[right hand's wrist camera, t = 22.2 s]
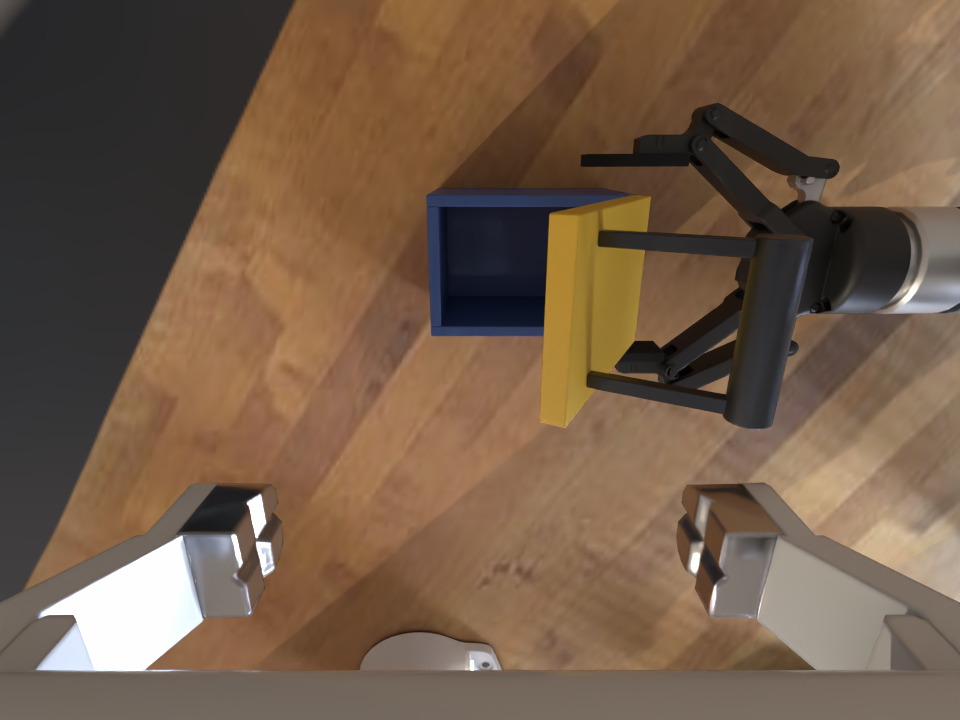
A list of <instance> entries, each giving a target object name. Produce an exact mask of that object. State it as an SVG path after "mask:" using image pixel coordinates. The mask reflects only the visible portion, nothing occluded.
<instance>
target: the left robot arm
mask: <svg viewBox="0 0 960 720" xmlns="http://www.w3.org/2000/svg"><path fill="white" fill-rule="evenodd" d="M712 136H714V137H716V138H717V139H719V140H721V141H722V142H724V143H726V144H728V145H729V146H731V147H733V148H734V149H736V150H738V151H740V152H741V153H743V154H745V155H746V156H748V157H750V158H752V159H753V160H755V161H757V162H758V163H760V164H762V165H763V166H765V167H767V168H769V169H770V170H772V171H774V172H776V173H779V174H782V175H787V176H788V178H787V183H788V184H789V186H790V187H791V188H793V189H795V190H796V191H797V193H798V200H795V201H793V202H791V203H789V204H788V205H786V206H785V207H783V208H782V209H780V208H779V207H778V206H776V205H775V204H773V203H772V202H770V201H769V200H768V199H767V198H766V197H765V196H764V195H763V194H762V193H761V192H760V191H759V190H758V189H757V188H756V187H755V186H754V185H753V183H752V182H751V181H750V180H749V179H748V178H747V177H746V176H745V175H744V174H743V173H742V172H741V171H740V170H739V169H738V168H737V167H736V166H735V165H734V163H733V162H732V161H731V160H730V159H729V158H728V157H727V156H726V155H725V154H724V153H723V152H722V151H721V150H720V149H719V148H718V147H717V146H716V145H715V143H714V142H713V141H712V140H711V137H712ZM689 162H690V163H691V164H692V165H693V166H694V167H695V168H696V169H697V170H698V171H699V172H700V173H701V174H702V176H703V177H704V178H705V179H706V180H707V181H708V182H709V183H710V184H711V185H712V186H713V187H714V188H715V189H716V190H717V191H718V192H719V193H720V194H721V195H722V196H723V197H724V198H725V199H726V200H727V201H728V202H729V203H730V204H731V205H732V206H733V207H734V208H735V209H736V210H737V211H738V213H739V216H740V217H741V218H742V219H743V220H744V221H745V222H746V223H747V224H748V225H749V226H750V227H751V228H752V229H751V230H750V231H749V233H748V234H747V236H746V238H755V237H756V235H759V234H791V235H801V236H807V237H811V238H813V239H814V241H813V246H812V250H811V254H810V259H809V263H808V268H807V272H806V277H805V281H804V286H803V290H802V294H801V299H800V303H799V308H798V312H797V317H796V318H798V317H800V316H802V315H805V314H867V313H876V314H906V313H960V207H888V208H884V207H826V206H824V205H822V204H821V203H820V202H819V201H820V198H821V195H822V192H823V189H824V186H825V182H826V179H831V178H833V177H835V176H836V175H837V173H838V171H839V168H840V166H839V163H838V162H837V161H836V160H834V159H826V158H818V157H810V156H807V155H805V154H804V153H802V152H800V151H799V150H797V149H795V148H794V147H792V146H790V145H789V144H787V143H785V142H784V141H782V140H780V139H779V138H777V137H775V136H774V135H772V134H770V133H769V132H767V131H765V130H764V129H762V128H760V127H759V126H757V125H755V124H754V123H752V122H750V121H748V120H747V119H745V118H743V117H742V116H740V115H738V114H737V113H735V112H733V111H732V110H730V109H728V108H727V107H725V106H723V105H722V104H719V103H715V104H711V105H707V106H703V107H699V108H697V109H696V110H695V111H694V112H693V114H692V121H691V124H690V126H689V128H688V129H687V131H686V132H685V133H683V134H682V135H645V136H641V137H638V138H636V139H634V147H633V154H586V155H581V166H583V167H629V166H689ZM750 263H751V258H745V257H741V261H740V263H739V266H738V268H737V271H736V277H735V280H736V281H738V285H739V288H737V289H736V290H735V291H733V292H732V293H731V294H729V295H728V296H727V297H726V298H725V299H724V302H723V303H722V304H721V305H719V306H718V307H717V308H715V309H714V310H712V311H711V312H710V313H708V314H707V315H706V316H704V317H703V318H701V319H700V320H699V321H697V322H696V323H695V324H693V325H692V326H690V327H689V328H688V329H686V330H685V331H684V332H682V333H681V334H679V335H678V336H677V337H675V338H674V339H673V340H671V341H670V342H668V343H667V344H666V345H664V346H663V347H662V348H659V347H658V346H657V345H656V344H655V343H654V342H653V341H634V342H633V343H632V345H631V346H630V347H629V348H628V350H627V351H626V352H625V353H624V355H623V356H622V357H621V359H620V360H619V361H618V362H617V364H616V365H615V366H614V367H615V368H616V370H617V371H619V372H622V373H657V374H658V381H659V383H664V384H670V385H675V386H681V387H687V388H692V389H697V388H700V387H702V386H704V385H707V384H709V383H711V382H714V381H716V380H718V379H721V378H723V377H725V376H728V375H730V371H731V365H732V360H733V354H734V349H735V344H736V340H734V341H732V342H730V343H727V344H725V345H723V346H720V347H718V348H716V349H714V350H711V351H709V352H707V351H708V350H709V349H711V348H712V347H714V346H715V345H716V344H718V343H719V342H721V341H722V340H724V339H725V338H726V337H728V336H729V335H731V334H732V333H733V332H735V331H736V330H738V327H739V322H740V317H741V311H742V306H743V300H744V295H745V290H746V284H747V279H748V273H749V268H750ZM797 351H798V344H797V343H796V342H794V341H793V340H791V343H790V348H789V352H788V356H792V355H794V354H795V353H796V352H797ZM705 352H707V353H705Z"/></svg>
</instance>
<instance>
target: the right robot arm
mask: <svg viewBox="0 0 960 720" xmlns="http://www.w3.org/2000/svg"><path fill="white" fill-rule="evenodd" d="M278 503H279V502H278V497H277V493H276V488H275V487H274V486H273V485H272V484H244V483H221V484H220V483H196V484H192V485H190V486H189V487H188V488H187V489H186V490H185V492H184V493H183V494H182V495H181V496H180V497H179V498H178V499H177V500H176V501H175V503H174V504H173V505H172V506H171V507H170V508H169V509H168V510H167V511H166V512H165V514H164V515H163V516H162V517H161V518H160V519H159V520H158V521H157V522H156V523H155V525H154V526H153V527H152V528H151V529H150V530H149V531H148V532H147V533H146V534H145V536H134V537H132V538H130V539H128V540H126V541H124V542H122V543H120V544H118V545H116V546H114V547H112V548H110V549H108V550H106V551H104V552H102V553H100V554H98V555H96V556H94V557H92V558H90V559H88V560H86V561H83V562H81V563H79V564H77V565H75V566H73V567H71V568H69V569H67V570H65V571H63V572H61V573H59V574H57V575H55V576H53V577H51V578H49V579H47V580H45V581H43V582H41V583H39V584H37V585H35V586H33V587H31V588H29V589H27V590H25V591H23V592H21V593H19V594H16V595H14V596H12V597H10V598H8V599H6V600H4V601H2V602H0V720H960V603H959V602H957V601H955V600H953V599H951V598H949V597H947V596H945V595H943V594H941V593H939V592H937V591H935V590H933V589H931V588H929V587H927V586H925V585H923V584H921V583H919V582H917V581H915V580H913V579H911V578H909V577H907V576H905V575H903V574H901V573H899V572H897V571H895V570H893V569H891V568H889V567H886V566H884V565H882V564H880V563H878V562H876V561H874V560H872V559H870V558H868V557H866V556H864V555H862V554H860V553H858V552H856V551H854V550H852V549H850V548H848V547H846V546H844V545H842V544H840V543H838V542H836V541H834V540H832V539H830V538H828V537H826V536H815V534H814V533H813V532H812V531H811V530H810V529H809V528H808V527H807V526H806V525H805V523H804V522H803V521H802V520H801V519H800V518H799V517H798V516H797V515H796V514H795V512H794V511H793V510H792V509H791V508H790V507H789V506H788V505H787V504H786V503H785V501H784V500H783V499H782V498H781V497H780V496H779V495H778V494H777V493H776V492H775V490H774V489H773V488H772V487H771V486H770V485H768V484H765V483H738V484H704V485H686V487H685V489H684V491H683V497H682V502H681V503H682V504H683V506H684V508H685V509H686V511H687V513H686V514H685V515H684V516H683V517H682V518H681V519H680V520H679V521H678V528H677V546H678V552H679V556H680V559H681V562H682V564H683V566H684V568H685V570H686V571H687V572H689V573H690V574H692V575H693V576H694V577H696V578H697V579H696V585H695V590H696V592H697V594H698V596H699V597H700V599H701V601H702V603H703V605H704V607H705V609H706V611H707V613H708V615H709V617H733V618H757V621H758V622H759V623H760V624H762V625H763V626H764V627H765V628H766V629H768V630H769V631H770V632H771V633H772V634H774V635H775V636H776V637H777V638H778V639H780V640H781V641H782V642H783V643H784V644H786V645H787V646H788V647H789V648H790V649H792V650H793V651H794V652H795V653H796V654H798V655H799V656H800V657H801V658H802V659H804V660H805V661H806V662H807V663H808V664H810V665H811V666H812V667H813V668H814V669H816V670H502V669H501V667H500V664H499V662H498V660H497V657H496V655H495V653H494V651H493V649H492V647H490V646H489V645H486V644H482V643H464V642H460V641H457V640H454V639H451V638H449V637H446V636H443V635H439V634H433V633H424V632H415V633H405V634H400V635H396V636H393V637H390V638H388V639H386V640H384V641H382V642H380V643H378V644H377V645H376V646H374V647H373V648H372V649H371V650H370V651H369V652H368V653H367V654H366V656H365V657H364V659H363V661H362V663H361V665H360V670H145V669H146V668H147V667H148V666H149V665H151V664H152V663H153V662H154V661H155V660H157V659H158V658H159V657H160V656H161V655H163V654H164V653H165V652H166V651H167V650H169V649H170V648H171V647H172V646H173V645H175V644H176V643H177V642H178V641H179V640H181V639H182V638H183V637H184V636H185V635H187V634H188V633H189V632H190V631H191V630H193V629H194V628H195V627H196V626H197V625H199V624H200V623H201V622H202V621H203V618H226V617H251V615H252V613H253V611H254V609H255V607H256V605H257V603H258V601H259V599H260V597H261V596H262V594H263V592H264V590H265V585H264V579H263V578H264V577H266V576H267V575H268V574H270V573H271V572H273V571H274V570H275V568H276V566H277V564H278V561H279V559H280V555H281V551H282V546H283V527H282V521H281V520H280V519H279V518H278V517H277V516H276V515H275V514H274V513H273V511H274V509H275V508H276V506H277V504H278Z"/></svg>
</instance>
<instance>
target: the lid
mask: <svg viewBox="0 0 960 720" xmlns="http://www.w3.org/2000/svg"><path fill="white" fill-rule="evenodd" d="M650 201H651V196H627V197H622V198H618V199H613V200H608V201H604V202H599V203H594V204H590V205H585V206H581V207H576V208H571V209H567V210H562V211H558V212H553V213H550V215H549V234H548V256H547V277H546V298H545V319H544V341H543V362H542V383H541V404H540V422H542V423H546V424H550V425H554V426H559V427H563V428H565V427H566V426H567V425H568V424H569V423H570V421H571V420H572V419H573V417H574V416H575V415H576V414H577V412H578V411H579V410H580V409H581V407H582V406H583V405H584V404H585V402H586V401H587V400H588V399H589V397H590V396H591V395H592V394H593V392H594V391H595V390H596V389H598V390H603V391H608V392H613V393H618V394H623V395H628V396H633V397H638V398H644V399H649V400H654V401H659V402H664V403H669V404H674V405H679V406H684V407H690V408H695V409H700V410H705V411H710V412H715V413H720V414H723V417H724V418H725V419H726V420H727V421H728V422H730V423H732V424H734V425H737V426H740V427H743V428H748V429H766V428H769V427H770V426H771V425H772V423H773V419H774V415H775V410H776V406H777V401H778V397H779V392H780V388H781V383H782V379H783V374H784V370H785V366H786V361H787V357H788V352H789V348H790V343H791V339H792V334H793V330H794V326H795V321H796V317H797V312H798V308H799V303H800V299H801V294H802V290H803V286H804V281H805V277H806V272H807V268H808V263H809V259H810V254H811V250H812V246H813V241H814V239H813V238H811V237H807V236H801V235H791V234H759V235H756V237H755V238H744V237H726V236H709V235H692V234H674V233H657V232H647V228H648V219H649V210H650ZM645 250H648V251H662V252H676V253H690V254H703V255H717V256H731V257H745V258H751V263H750V268H749V273H748V279H747V284H746V290H745V295H744V300H743V306H742V311H741V317H740V322H739V327H738V333H737V338H736V344H735V349H734V354H733V360H732V365H731V371H730V376H729V381H728V387H727V392H726V395H725V394H720V393H714V392H709V391H703V390H698V389H692V388H687V387H681V386H675V385H670V384H664V383H659V382H653V381H648V380H642V379H637V378H631V377H625V376H620V375H614V374H609V372H610V371H611V370H612V369H613V367H614V366H615V365H616V364H617V362H618V361H619V360H620V359H621V357H622V356H623V355H624V353H625V352H626V351H627V350H628V348H629V347H630V346H631V345H632V343H633V342H634V341H635V334H636V325H637V317H638V308H639V299H640V290H641V281H642V272H643V263H644V254H645Z"/></svg>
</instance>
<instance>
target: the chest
mask: <svg viewBox="0 0 960 720" xmlns="http://www.w3.org/2000/svg"><path fill="white" fill-rule="evenodd" d="M627 196H637V195H633V194H628V193H623V192H618V191H613V190H608V189H603V188H438V189H436V190H435V191H433V192H431V193H430V194H428V195H427V206H428V207H427V222H428V252H429V282H430V312H431V335H432V336H544V319H545V298H546V277H547V256H548V234H549V215H550V213H553V212H558V211H562V210H567V209H571V208H576V207H581V206H585V205H590V204H594V203H599V202H604V201H608V200H613V199H618V198H622V197H627Z"/></svg>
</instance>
